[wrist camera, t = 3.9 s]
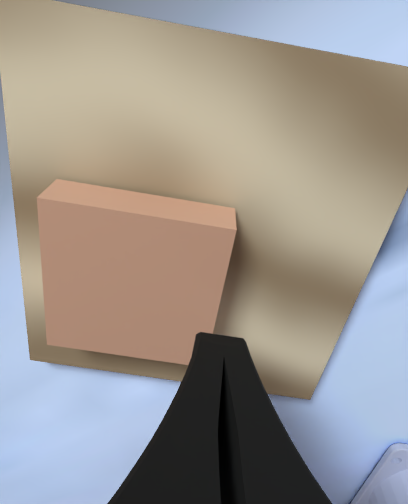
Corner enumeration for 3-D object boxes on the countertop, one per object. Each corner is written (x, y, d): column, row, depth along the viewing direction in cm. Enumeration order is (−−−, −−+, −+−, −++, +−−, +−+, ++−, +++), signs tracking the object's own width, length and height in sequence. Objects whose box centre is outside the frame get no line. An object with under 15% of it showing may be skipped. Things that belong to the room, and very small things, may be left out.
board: (306, 385, 19) (310, 399, 18) (37, 347, 18) (30, 359, 17) (444, 73, 11) (458, 76, 11) (6, -9, 11) (-9, -11, 10)
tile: (204, 367, 15) (46, 344, 14) (206, 335, 16) (63, 314, 16) (236, 229, 12) (36, 197, 11) (235, 206, 13) (58, 177, 13)
